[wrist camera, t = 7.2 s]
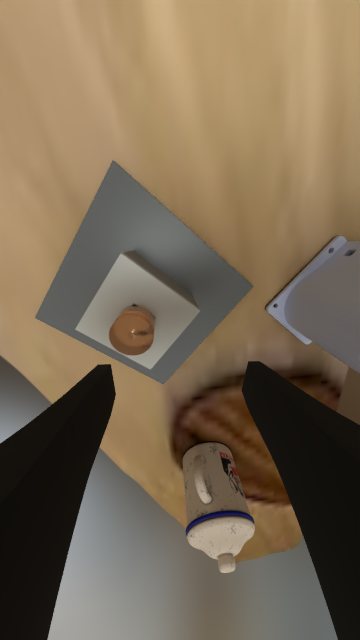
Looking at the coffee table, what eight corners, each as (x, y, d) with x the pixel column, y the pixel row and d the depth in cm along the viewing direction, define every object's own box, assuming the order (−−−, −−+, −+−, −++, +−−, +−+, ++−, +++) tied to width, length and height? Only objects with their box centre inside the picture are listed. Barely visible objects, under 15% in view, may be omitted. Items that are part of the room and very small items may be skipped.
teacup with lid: (237, 461, 32) (273, 571, 21) (191, 475, 33) (203, 587, 22) (218, 423, 27) (252, 540, 16) (165, 440, 28) (164, 562, 17)
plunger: (134, 268, 15) (115, 282, 10) (179, 301, 16) (185, 329, 11) (106, 311, 16) (76, 345, 11) (150, 338, 18) (143, 379, 12)
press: (114, 162, 13) (86, 120, 9) (251, 285, 18) (280, 299, 14) (37, 316, 18) (-7, 341, 13) (163, 381, 23) (162, 416, 18)
